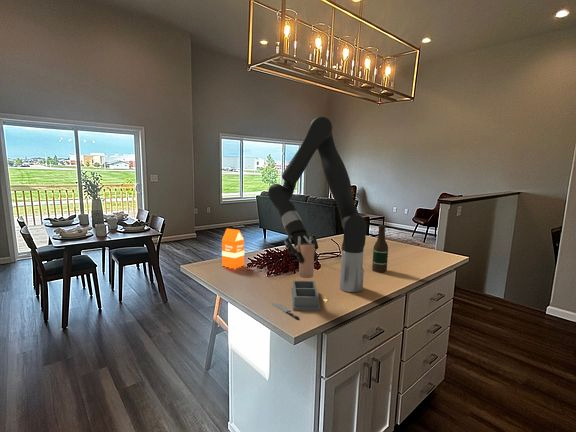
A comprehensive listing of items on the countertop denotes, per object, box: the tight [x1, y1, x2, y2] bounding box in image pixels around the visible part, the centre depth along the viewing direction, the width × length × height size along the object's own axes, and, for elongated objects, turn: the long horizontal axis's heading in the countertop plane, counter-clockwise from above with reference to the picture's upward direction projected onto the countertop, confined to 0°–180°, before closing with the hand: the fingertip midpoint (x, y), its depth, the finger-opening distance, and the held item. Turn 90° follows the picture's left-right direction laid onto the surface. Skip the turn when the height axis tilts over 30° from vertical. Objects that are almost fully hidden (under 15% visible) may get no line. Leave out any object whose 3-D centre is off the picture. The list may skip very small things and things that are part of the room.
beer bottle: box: [371, 224, 389, 274], centre depth 160 cm, size 8×8×24 cm
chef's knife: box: [269, 301, 300, 321], centre depth 114 cm, size 19×1×3 cm
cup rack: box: [291, 280, 321, 312], centre depth 123 cm, size 10×20×4 cm, turn 1°
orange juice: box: [221, 228, 245, 270], centre depth 162 cm, size 8×9×20 cm
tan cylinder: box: [298, 243, 315, 279], centre depth 116 cm, size 6×6×12 cm
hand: (309, 261), depth 115 cm, fingers closed on tan cylinder, 5 cm apart
